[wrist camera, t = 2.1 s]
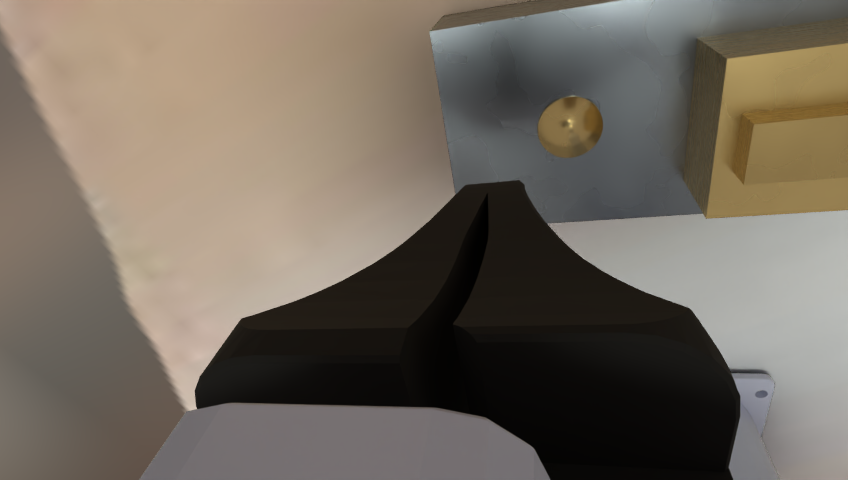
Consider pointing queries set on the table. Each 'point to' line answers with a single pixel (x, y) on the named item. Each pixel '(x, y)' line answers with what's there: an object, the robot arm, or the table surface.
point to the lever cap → (770, 121)
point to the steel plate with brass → (587, 96)
